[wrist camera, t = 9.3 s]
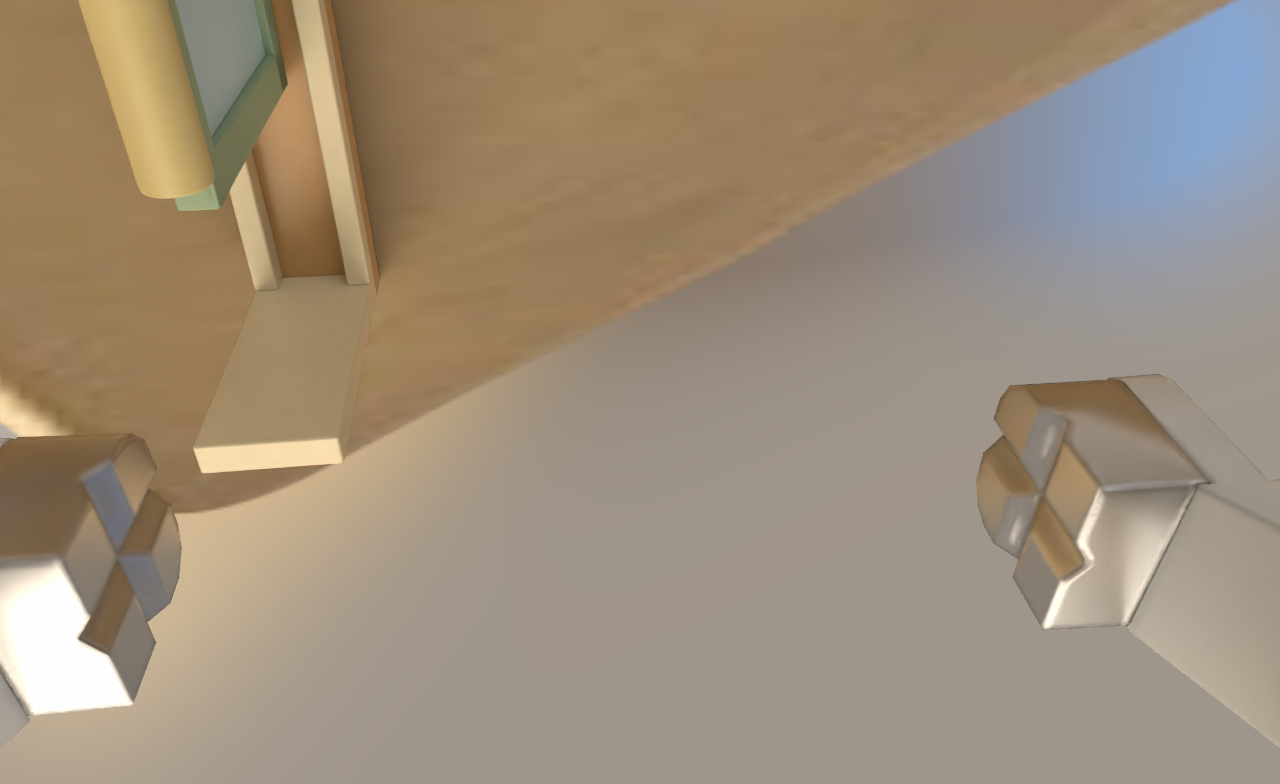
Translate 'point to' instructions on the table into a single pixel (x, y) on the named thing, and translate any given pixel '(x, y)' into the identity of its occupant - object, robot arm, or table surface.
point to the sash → (188, 88)
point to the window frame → (298, 269)
